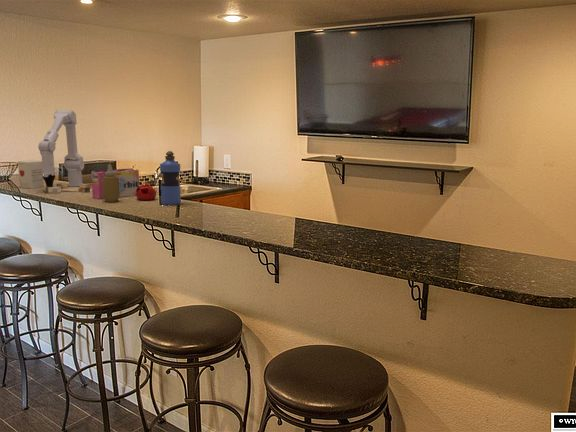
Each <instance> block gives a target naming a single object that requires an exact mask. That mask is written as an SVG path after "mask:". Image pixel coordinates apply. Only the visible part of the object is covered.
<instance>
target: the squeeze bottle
mask: <svg viewBox="0 0 576 432" xmlns="http://www.w3.org/2000/svg"><path fill="white" fill-rule="evenodd" d="M106 170H107V172H105V175H106V176H104V177H103V191H102V195H103V197H104V199H103V200H104V202H107V203H115V202H118V201H119V198H120V197H119V196H120V190H119V184H118V177H117V176H114V175H115V172H113V170H114V169H113V167H112V164H111V163H109V164H108V165H107V169H106Z"/></svg>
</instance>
